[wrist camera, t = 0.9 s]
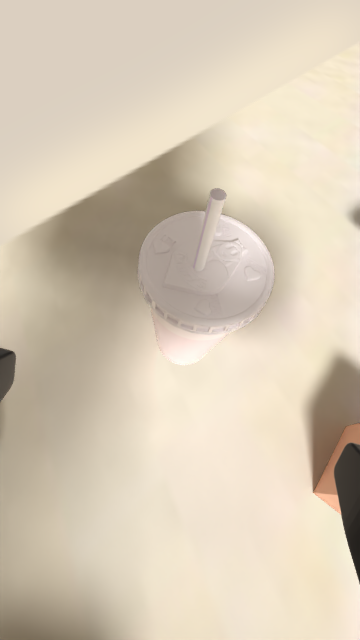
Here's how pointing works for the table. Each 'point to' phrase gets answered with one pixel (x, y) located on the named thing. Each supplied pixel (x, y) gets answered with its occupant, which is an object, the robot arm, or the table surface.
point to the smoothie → (202, 279)
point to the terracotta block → (327, 482)
